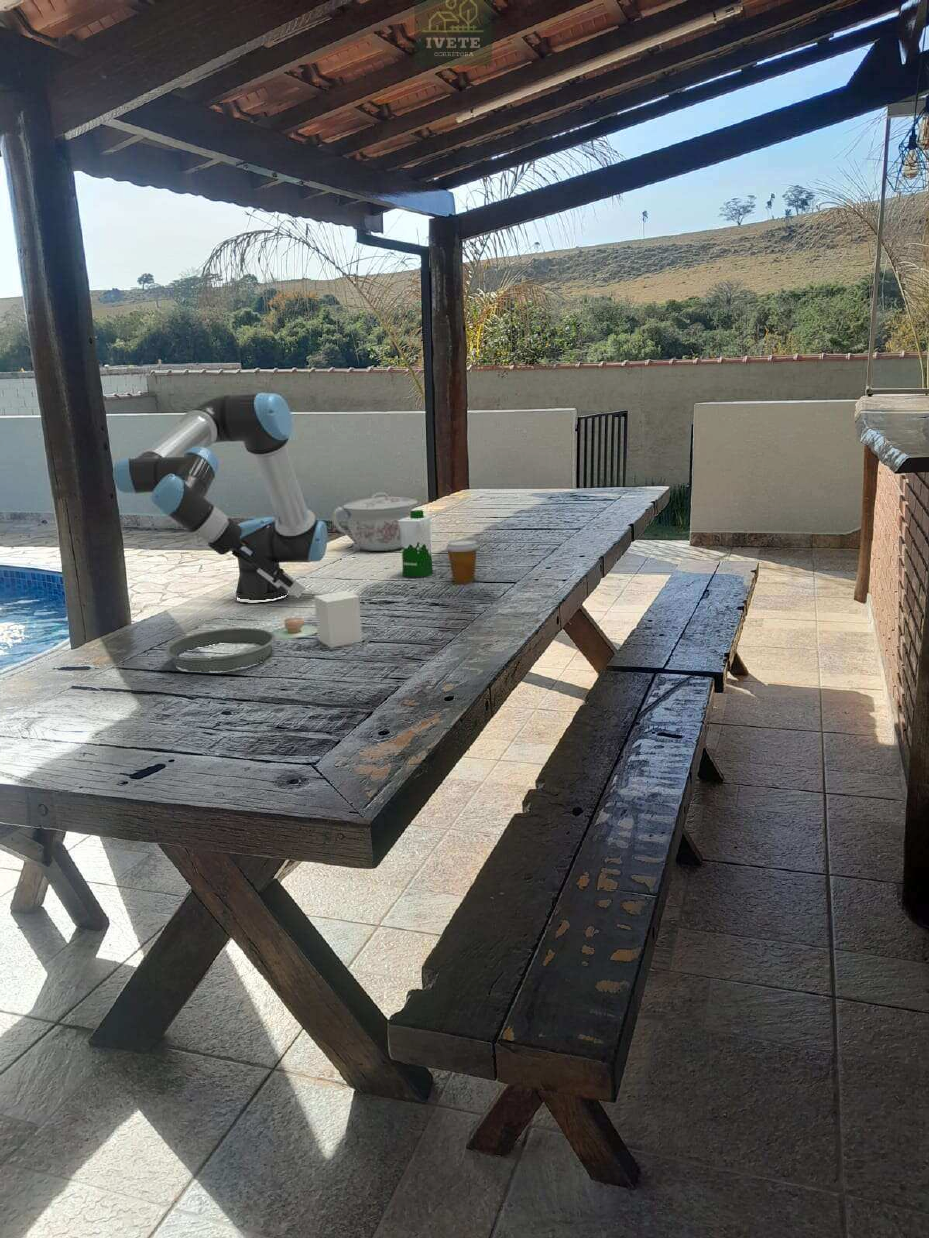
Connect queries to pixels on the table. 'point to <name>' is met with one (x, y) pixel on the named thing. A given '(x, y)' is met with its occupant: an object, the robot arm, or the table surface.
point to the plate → (305, 631)
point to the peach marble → (293, 625)
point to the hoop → (215, 638)
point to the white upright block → (338, 618)
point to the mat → (365, 642)
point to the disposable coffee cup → (462, 560)
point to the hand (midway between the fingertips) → (291, 588)
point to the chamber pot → (375, 521)
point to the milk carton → (416, 545)
